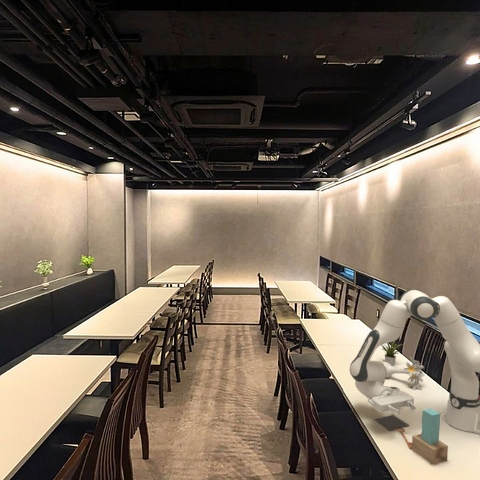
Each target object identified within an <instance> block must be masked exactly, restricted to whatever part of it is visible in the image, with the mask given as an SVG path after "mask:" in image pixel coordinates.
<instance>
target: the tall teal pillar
mask: <svg viewBox="0 0 480 480" xmlns="http://www.w3.org/2000/svg"><path fill="white" fill-rule="evenodd" d="M440 429H441V413H440V412H439V411H436V410H435V409H433V408H426V409H422V416H421V432H420V434H421V439H422V440H424V441H425V442H427V443H428V444H430V445H433V444H436V443H439V440H440Z"/></svg>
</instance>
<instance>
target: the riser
mask: <svg viewBox="0 0 480 480" xmlns="http://www.w3.org/2000/svg"><path fill="white" fill-rule="evenodd" d="M411 437H412V438H411V443H412V449H411V451H412V452H414V453H415V454H417V455H418V456H419V457H421V458H423V460H425V461H426V462H428V463H429V464H430V465H432V466H433V465H437V464H440V463H444V462H447V461H448V450H449V445H447V444H446V443H444V442H442V441H441V440H440V439H439V443H436V444H433V445H430V444H428V443H427V442H425V441H424V440H422V439H421V433H419V434H414V435H412V436H411Z"/></svg>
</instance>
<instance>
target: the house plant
mask: <svg viewBox="0 0 480 480" xmlns="http://www.w3.org/2000/svg"><path fill="white" fill-rule="evenodd" d="M395 342H396V340H395V341H392V342H391V343H390V342H388V343H385V344H383V345H381V347H382V349H383V351H384V352H385V353H384V360H385V361H384V362H388V363H389V364H390V365H391V366H393V367H395V363H396V358H397V356H396V355H397V354H400V351H399V350H397V349H398V348H399V347H401V346H402V345H403V346H404V344H402V343H401V344H397V343H395Z"/></svg>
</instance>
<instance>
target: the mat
mask: <svg viewBox="0 0 480 480" xmlns="http://www.w3.org/2000/svg"><path fill="white" fill-rule="evenodd" d="M373 421H375V422H376V423H377V424H379V425H380V426H382V427H383V428H384V429H386V430H387V431H389V432H392V431H395V430H396V428H397V427H400V428H403V429H404V428H408V427H410V424H408V423H406V422H405V421H403V420H402V419H400V418H398V416H396V415H394V414H390V415H387V416H381V417H376V418H373ZM396 431H397V430H396Z"/></svg>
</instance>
